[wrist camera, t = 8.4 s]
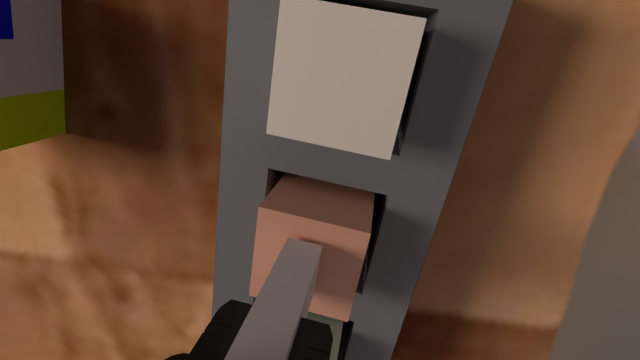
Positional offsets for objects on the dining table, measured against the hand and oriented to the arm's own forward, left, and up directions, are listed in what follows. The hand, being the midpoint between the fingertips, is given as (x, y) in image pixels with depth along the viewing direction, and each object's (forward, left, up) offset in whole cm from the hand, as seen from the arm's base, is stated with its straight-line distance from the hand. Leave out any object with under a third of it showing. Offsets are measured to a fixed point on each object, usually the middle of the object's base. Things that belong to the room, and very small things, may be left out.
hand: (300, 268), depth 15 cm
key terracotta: (0, 0, -8) cm, 8 cm away
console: (0, 0, -9) cm, 9 cm away
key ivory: (-8, 0, -8) cm, 11 cm away
